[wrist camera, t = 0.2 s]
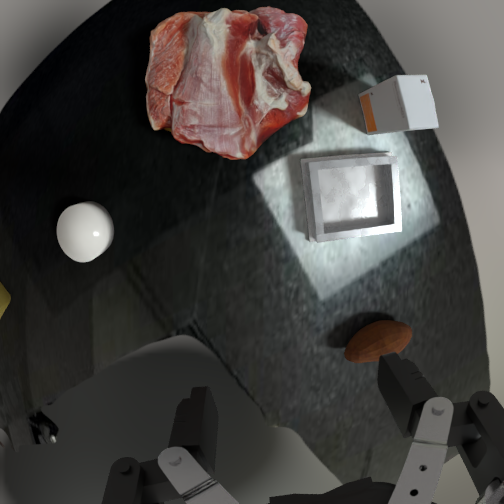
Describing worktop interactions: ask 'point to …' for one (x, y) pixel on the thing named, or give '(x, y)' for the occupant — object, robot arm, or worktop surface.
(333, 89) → the worktop surface
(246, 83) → the meat
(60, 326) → the worktop surface
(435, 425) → the robot arm
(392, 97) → the skincare box
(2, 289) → the flower pot
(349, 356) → the potato
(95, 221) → the white domed puck
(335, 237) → the tray
